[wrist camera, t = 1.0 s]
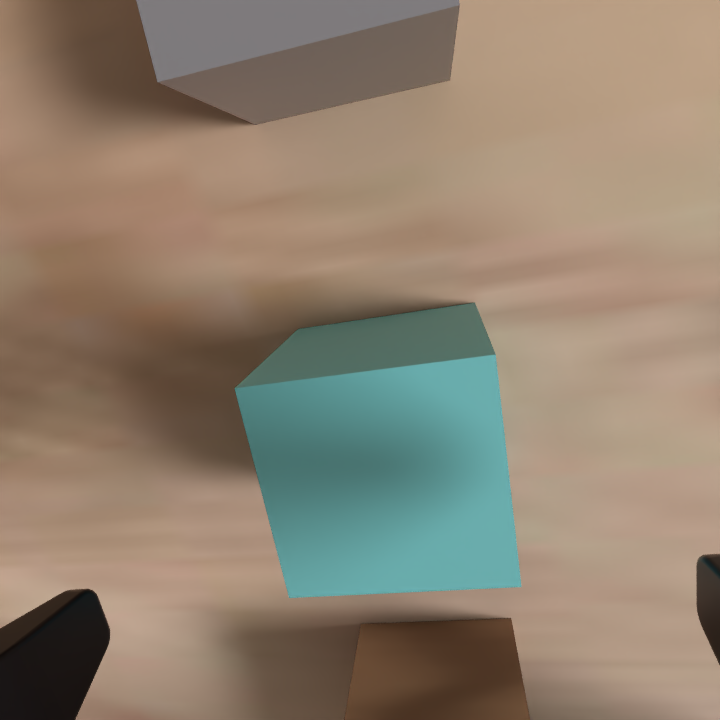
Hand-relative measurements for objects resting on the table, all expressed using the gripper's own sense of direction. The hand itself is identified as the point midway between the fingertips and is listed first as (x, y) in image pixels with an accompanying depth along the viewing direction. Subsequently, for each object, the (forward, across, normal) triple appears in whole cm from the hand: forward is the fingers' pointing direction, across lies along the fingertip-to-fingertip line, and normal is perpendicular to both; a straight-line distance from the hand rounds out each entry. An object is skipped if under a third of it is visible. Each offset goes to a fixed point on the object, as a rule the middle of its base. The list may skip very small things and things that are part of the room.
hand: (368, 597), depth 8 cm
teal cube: (+8, 0, 0) cm, 8 cm away
